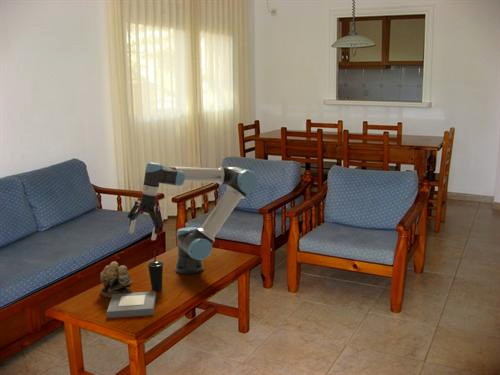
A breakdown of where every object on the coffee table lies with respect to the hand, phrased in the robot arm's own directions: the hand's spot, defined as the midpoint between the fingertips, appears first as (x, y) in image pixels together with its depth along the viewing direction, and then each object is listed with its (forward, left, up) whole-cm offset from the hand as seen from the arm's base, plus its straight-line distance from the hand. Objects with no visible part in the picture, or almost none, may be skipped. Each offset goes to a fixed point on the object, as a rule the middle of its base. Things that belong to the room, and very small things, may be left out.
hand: (142, 236), depth 270 cm
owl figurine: (+13, +7, -27) cm, 30 cm away
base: (+4, +24, -26) cm, 36 cm away
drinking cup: (-6, +5, -26) cm, 28 cm away
